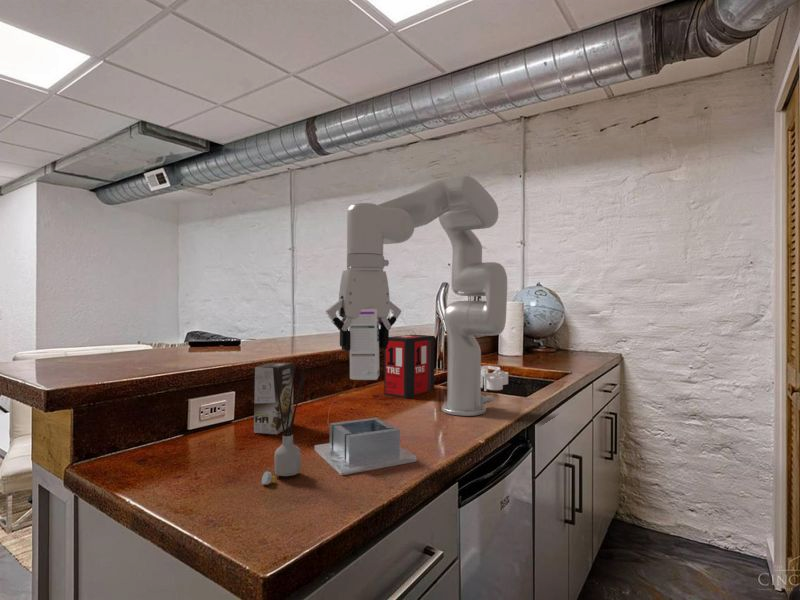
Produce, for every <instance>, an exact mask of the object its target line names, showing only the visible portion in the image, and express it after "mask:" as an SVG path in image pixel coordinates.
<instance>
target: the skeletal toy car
mask: <svg viewBox="0 0 800 600" xmlns="http://www.w3.org/2000/svg"><path fill="white" fill-rule="evenodd" d="M500 367H501V366H492V365H481V389H483V388H484V389H483V390H484V392H487V391H488V390H489V391H501V390H503V389H504V387H503V386H505V385H509V372H508V371H507V372H506V371H504V370H501V368H500ZM489 370H493V372H492V373H491V372H490V373H489Z"/></svg>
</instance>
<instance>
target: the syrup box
mask: <svg viewBox="0 0 800 600" xmlns="http://www.w3.org/2000/svg"><path fill="white" fill-rule="evenodd" d="M379 329H380V325H379V319H378V315H377V309H375V308H363V309H362V310H361V312H360V315H359V317H358V318H355V319H352V322H351V324H350V326H349V328H348V331H350V350H349V379H350V380H356V381H377V380H378V378H379V376H380V348H379Z"/></svg>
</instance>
